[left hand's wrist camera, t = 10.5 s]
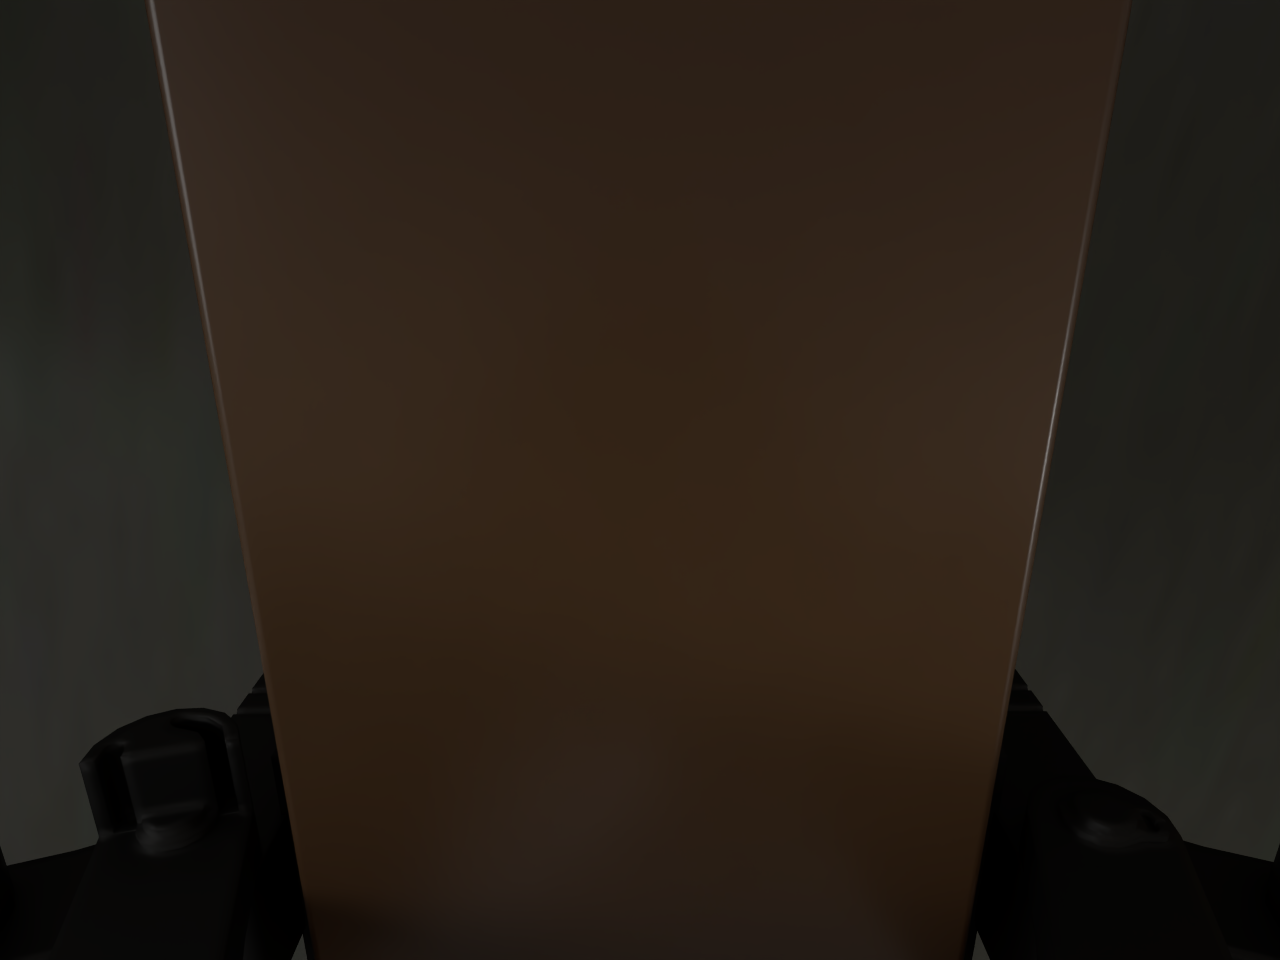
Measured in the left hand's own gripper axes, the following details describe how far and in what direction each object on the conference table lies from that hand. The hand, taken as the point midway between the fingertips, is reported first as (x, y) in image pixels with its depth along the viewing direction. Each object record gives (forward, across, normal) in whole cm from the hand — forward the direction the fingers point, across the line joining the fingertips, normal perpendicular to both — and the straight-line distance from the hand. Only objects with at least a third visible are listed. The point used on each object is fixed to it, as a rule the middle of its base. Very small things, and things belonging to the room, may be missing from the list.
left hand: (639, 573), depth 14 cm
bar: (+1, 0, -8) cm, 8 cm away
